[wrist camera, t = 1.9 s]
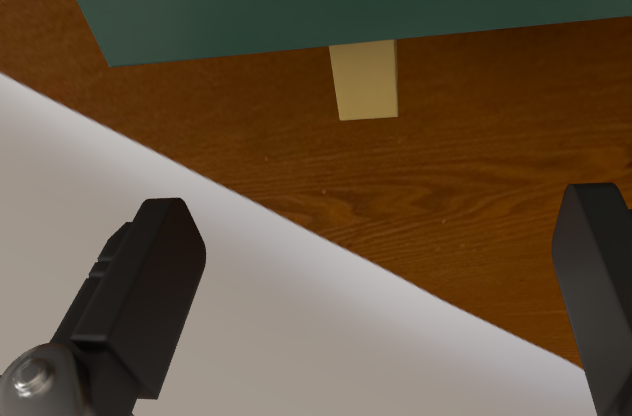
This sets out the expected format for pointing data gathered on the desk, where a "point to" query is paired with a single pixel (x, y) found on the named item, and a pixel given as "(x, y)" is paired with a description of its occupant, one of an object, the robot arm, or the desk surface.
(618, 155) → the desk surface
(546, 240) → the desk surface
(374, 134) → the desk surface
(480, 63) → the desk surface
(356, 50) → the window
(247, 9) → the window frame
